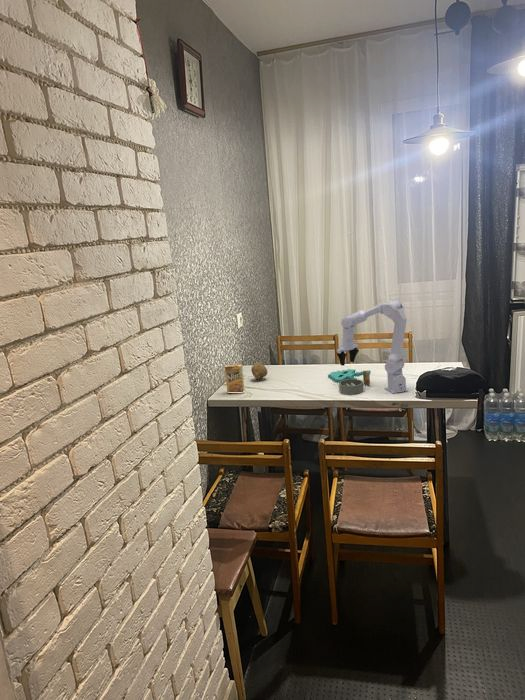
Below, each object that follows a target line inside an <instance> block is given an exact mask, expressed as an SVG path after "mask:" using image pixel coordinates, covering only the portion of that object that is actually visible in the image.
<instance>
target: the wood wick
mask: <svg viewBox="0 0 525 700" xmlns="http://www.w3.org/2000/svg"><path fill="white" fill-rule="evenodd" d="M362 371H363V377H362V378H363V380H362V381H363V385H365V386H366V385H367V386H366V387H370V386H371V381H370V380H371V374H370V373H369V372H368V371H366V370H362ZM369 385H370V386H369Z"/></svg>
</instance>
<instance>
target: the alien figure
mask: <svg viewBox="0 0 525 700" xmlns="http://www.w3.org/2000/svg"><path fill="white" fill-rule="evenodd" d="M363 371H364V370H361V371H356V369H353V368H352V369H351V368H348V369H342V370H337V371H331V372H330V373H328V374H327V378H328V379H330V380H332V382H334V383H338V384H339V383H340V381H343V380H347V379H358V378H357V377H360V376H362V375H363ZM365 371H368V372H369V373H371V370H368V369H367V370H365ZM355 372H356V373H355ZM354 376H355V377H354Z"/></svg>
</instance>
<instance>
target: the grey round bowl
mask: <svg viewBox="0 0 525 700" xmlns="http://www.w3.org/2000/svg"><path fill="white" fill-rule="evenodd" d="M338 387H339V388H338V389H339V390H338V391H339V393H340V394H341V395H346V396H349V395H350V396H354V395H360V394H362V393H364V390H365V389H364V382H363V380H361V379H358V378H357V379H347V380H343V381H340V383H338Z"/></svg>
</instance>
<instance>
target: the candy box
mask: <svg viewBox="0 0 525 700" xmlns="http://www.w3.org/2000/svg"><path fill="white" fill-rule="evenodd" d="M224 373H225V382H226V384H225V385H226V390H227V391H226V393H227V392H243V391H244V390H245V381H244V369H243V364H242V363H240V364H239V363H238V364H226V365H225V366H224Z"/></svg>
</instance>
